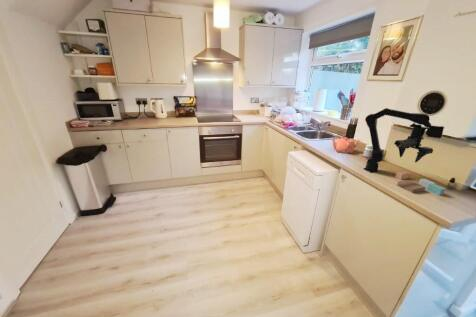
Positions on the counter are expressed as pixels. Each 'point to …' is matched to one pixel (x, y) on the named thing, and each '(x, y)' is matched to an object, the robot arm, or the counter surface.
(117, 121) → the counter surface
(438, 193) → the teal brick
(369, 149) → the pill bottle
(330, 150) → the counter surface
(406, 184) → the walnut slab
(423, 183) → the grey brick
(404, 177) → the terracotta brick
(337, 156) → the counter surface
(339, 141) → the pot
